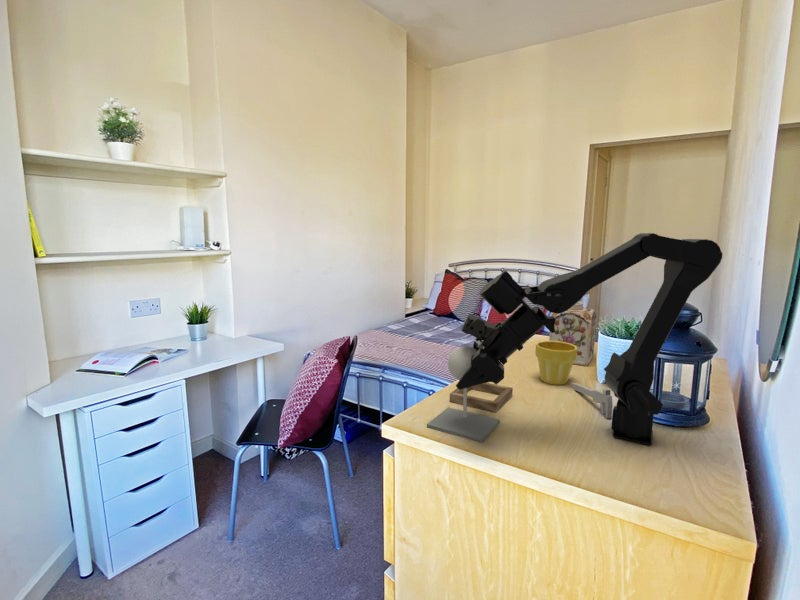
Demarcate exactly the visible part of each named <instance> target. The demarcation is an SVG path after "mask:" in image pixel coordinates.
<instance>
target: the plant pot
mask: <svg viewBox="0 0 800 600" xmlns="http://www.w3.org/2000/svg"><path fill="white" fill-rule="evenodd" d="M535 357H536V358H537V361H538V362H537V363H538V368H539V375H540V380H541V381H542V382H544V383H545V384H550V385H555V386H559V385H565V384H567V383H568V380H569V377H570V374H571V370H572V366H573V365H574V364H573V362H574V361H575V360H576V357H577V347H576V346H575V345H573V344H570V343H566V342H560V341H549V340H542V341H541V340H540V341H537V342H536V344H535Z"/></svg>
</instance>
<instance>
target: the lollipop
mask: <svg viewBox="0 0 800 600" xmlns="http://www.w3.org/2000/svg"><path fill="white" fill-rule="evenodd" d="M476 352H477V350H476V349H474V348H473V346H468V345H467V346H466V345H462V346H459V347H457V348H455V349H453V351H452V352H451V353H450V354H449V356H448V359H447V360H448V361H447V368H448V371H449V373H450V374H451V376H452V377H453V378H455V379H456V380H457V381H459V380H460V379H461V378H462V377H463V375H464V374H465V373H466V372H467V370H468V369H469V368H470V367H471V356H472V355H474V354H475V353H476ZM467 395H468V392H467V388H464V398H463V405H462V407H463V408H462V409H463V410H462V411H463V417H464V418H466V417H467V412H468V411H467V410H468V409H467V408H468V406H467Z"/></svg>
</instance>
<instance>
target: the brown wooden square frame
mask: <svg viewBox="0 0 800 600" xmlns="http://www.w3.org/2000/svg"><path fill="white" fill-rule="evenodd" d="M472 390H475V391H478V392H482V393H489V394H494V395H497V397H496V398H494V400H492V399H486V398H481V397H477V396H472V395H468V394H467V407H471V408H475V409H476V408H477V409H480V410H484V411H489V412H492V413H497V412H499V410H500V409H501V408H502V407H504V405H505V404H506V403H507V402H508V401H509V400H510V398H512V397H513V390H514V389H513V387H510V386H507V385H506V386H505V385H500V384H497V385H496V384H494V383H491V382H488V383H483V384H479V385H475V386H471V387H468V388H467V393H468V392H470V391H472ZM463 398H464V389H461V390H459V389H458V388H457V387H456V388H455V389H454V390H453V391H451V392H450V393H449V402H450V403H453V404H456V405H457V404H458V405H462V406H463Z"/></svg>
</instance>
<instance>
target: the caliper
mask: <svg viewBox="0 0 800 600" xmlns="http://www.w3.org/2000/svg"><path fill="white" fill-rule="evenodd" d="M568 386H570V388H571V389H572V390H574V391H577V392H578V393H581V394H583V395H586V396H587V397H590V398H592V402H593V403H596V404H599V406H600V412H601V416H603V417H605V419H612V413H613V407H614V406H613V396H612V395H611V389H608V388H602V391H601V390H599V389H591V388H589V387H587V386H584V385H582V384H579V383H577V382H570V383H569V384H568Z"/></svg>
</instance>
